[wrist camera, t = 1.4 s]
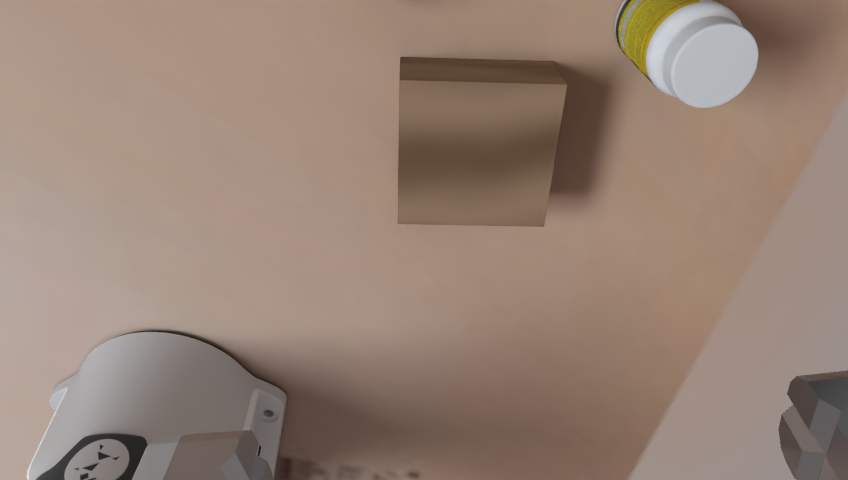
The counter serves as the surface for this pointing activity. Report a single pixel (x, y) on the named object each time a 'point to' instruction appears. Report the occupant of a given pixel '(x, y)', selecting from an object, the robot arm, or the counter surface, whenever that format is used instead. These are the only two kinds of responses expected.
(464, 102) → the walnut block
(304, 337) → the counter surface
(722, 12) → the supplement bottle
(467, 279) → the counter surface
